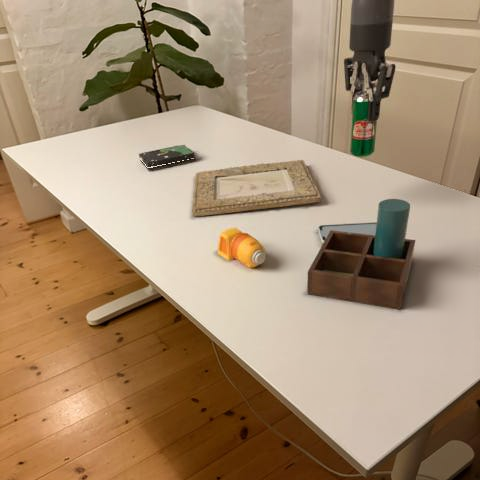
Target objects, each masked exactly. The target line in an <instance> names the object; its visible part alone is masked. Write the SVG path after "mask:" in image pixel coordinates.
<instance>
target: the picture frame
mask: <svg viewBox="0 0 480 480" xmlns="http://www.w3.org/2000/svg"><path fill="white" fill-rule="evenodd" d="M194 180H195V181H194V189H193V201H192V211H191V213H192V217H193V218H194V217H195V218H196V217H203V216H205V217H206V216H215V215H222V214H229V213H230V214H231V213H238V212H248V211H254V210H263V209H272V208H280V207H281V208H282V207H288V206H289V207H290V206H297V205H305V204H315V203H318V202H321V201H322V197H321V193H320V191H319V189H318V187H317V185H316V183H315V181H314V179H313V177H312V174H311V173H310V171H309V169H308V167H307V165H306V163H305V161H304V159H297V160H289V161H280V162H271V163H269V162H268V163H257V164H250V165H243V166H234V167H231V166H230V167H227V168H226V167H225V168H220V169H212V170H205V171H199V172H195V179H194Z"/></svg>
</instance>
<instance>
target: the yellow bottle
mask: <svg viewBox="0 0 480 480" xmlns="http://www.w3.org/2000/svg"><path fill="white" fill-rule="evenodd" d="M218 239H219V240H218V246H217V254H218V255H219V256H221V257H222V258H224V259H225V260H227V261H233V260H236V261H238V262H240V263H241V264H243V266H246V267H248V268H255V267H257V266H260V265H261V264H263V263H264V262H265V260H266V251H265V248H264V246H263V245H262V244H261V242H260V241H259V240H258V239H256V237H253V236H252V235H251V234H249V233H247V232H242V230H240V229H239V228H237V227H231V228H228V229H226V230H223V231H221V232H220V235H219V238H218Z"/></svg>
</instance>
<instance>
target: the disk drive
mask: <svg viewBox="0 0 480 480" xmlns="http://www.w3.org/2000/svg"><path fill="white" fill-rule="evenodd" d="M138 157H139V161H140V163H141V164H142V165H143V166H144V168H146V170H147V171H155V170H159V169H165V168H169V167H172V166H179V165H184V164H187V163H191V162H194V161H196V154H195V152H194V151H193V150H192V149H191V148H190V147H189V148H188V146H186V144H180V145H174V146H169V147H165V148H164V147H163V148H160V149H154V150H149V151H143V152H141V153H138ZM140 158H141V160H142V161H143V162H144V163H145V164H146V166H147V167H151V166H157V165H162V164H166V165H162V166H157V167H153V168H147V167H146V166H145V164H144V163H143V162H142V161H141V160H140ZM191 158H194V159H191ZM187 159H189V160H187ZM182 160H184V161H182ZM177 161H180V162H177ZM172 162H175V163H172ZM168 163H171V164H168Z"/></svg>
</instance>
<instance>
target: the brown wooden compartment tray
mask: <svg viewBox="0 0 480 480" xmlns="http://www.w3.org/2000/svg"><path fill="white" fill-rule="evenodd" d="M374 242H375V235H367V234H359V233H350V232H341V231H332V230H330V232H329V234H328V236H327V238H326V240H325V241H324V243H322V245H321V247H320V248H319V251H318V252H317V254H316V255H315V257H314V259H313V261H312V263H311V265H310V266H309V268H308V270H307V289H306V291H307V292H306V293H307V295H310V296H316V297H323V298H328V299H334V300H335V299H336V300H340V301H346V302H347V301H348V302H353V303H359V304H364V305H370V306H375V307H381V308H387V309H394V310H401V307H402V304H403V299H404V295H405V291H406V287H407V283H408V279H409V276H410V271H411V266H412V262H413V257H414V251H415V246H416V239H410V238H409V239H408V238H405V243H404V250H403V256H402V259H397V258H389V257H381V256H374V255H373V250H374Z"/></svg>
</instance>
